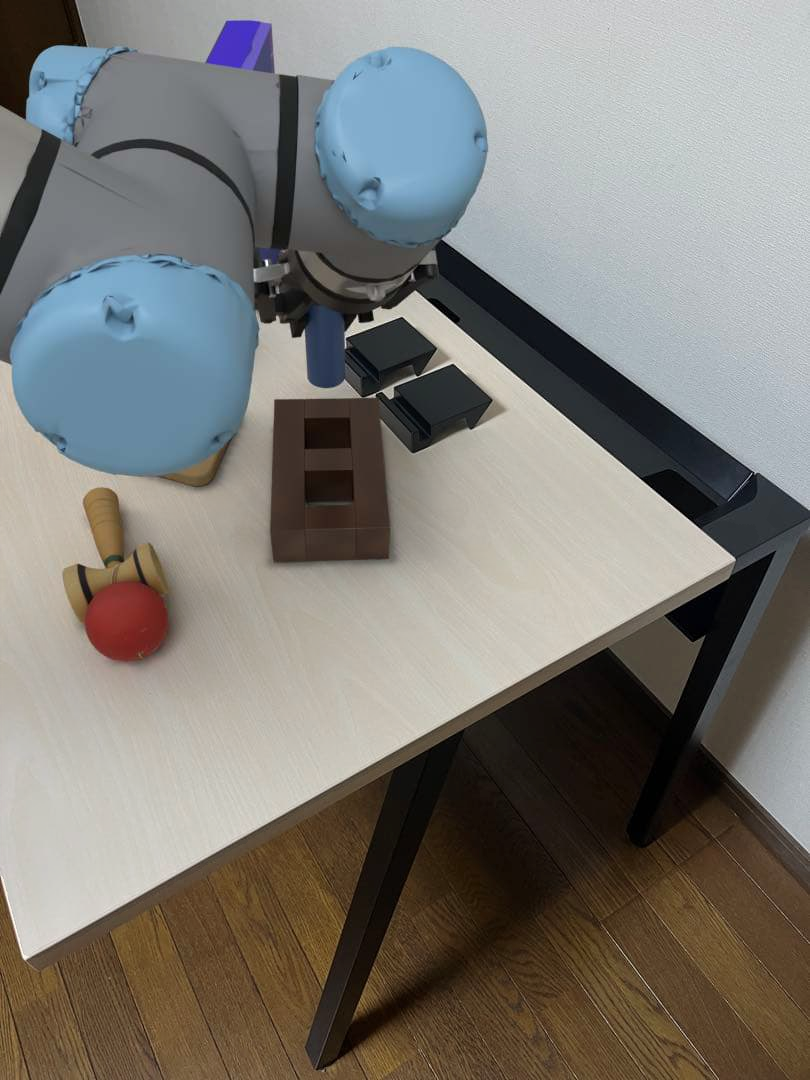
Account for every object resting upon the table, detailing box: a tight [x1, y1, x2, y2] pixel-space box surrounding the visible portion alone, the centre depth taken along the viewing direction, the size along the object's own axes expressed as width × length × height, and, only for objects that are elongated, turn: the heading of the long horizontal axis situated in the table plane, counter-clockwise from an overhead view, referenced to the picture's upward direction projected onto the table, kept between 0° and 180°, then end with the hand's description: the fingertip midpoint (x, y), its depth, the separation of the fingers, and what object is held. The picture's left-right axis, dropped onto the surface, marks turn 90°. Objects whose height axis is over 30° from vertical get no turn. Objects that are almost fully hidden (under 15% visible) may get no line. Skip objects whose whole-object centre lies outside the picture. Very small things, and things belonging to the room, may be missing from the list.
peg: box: [304, 306, 346, 389], centre depth 69 cm, size 3×3×12 cm
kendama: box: [62, 486, 170, 662], centre depth 70 cm, size 8×6×18 cm
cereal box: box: [204, 19, 281, 311], centre depth 95 cm, size 17×5×24 cm, turn 178°
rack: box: [269, 397, 391, 563], centre depth 78 cm, size 10×17×4 cm, turn 5°
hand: (316, 318), depth 74 cm, fingers closed on peg, 3 cm apart
